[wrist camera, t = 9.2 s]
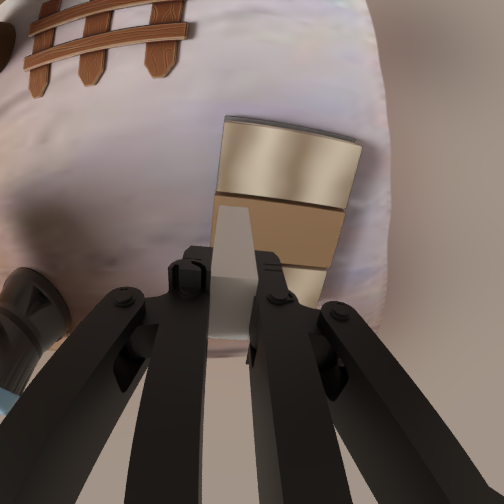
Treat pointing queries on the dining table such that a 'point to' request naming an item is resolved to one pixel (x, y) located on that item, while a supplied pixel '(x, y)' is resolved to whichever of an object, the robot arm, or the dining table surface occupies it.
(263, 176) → the plank
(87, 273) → the dining table surface
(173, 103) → the dining table surface
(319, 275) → the plank
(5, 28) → the olive oil
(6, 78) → the dining table surface
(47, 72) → the decorative fence
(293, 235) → the floor board
